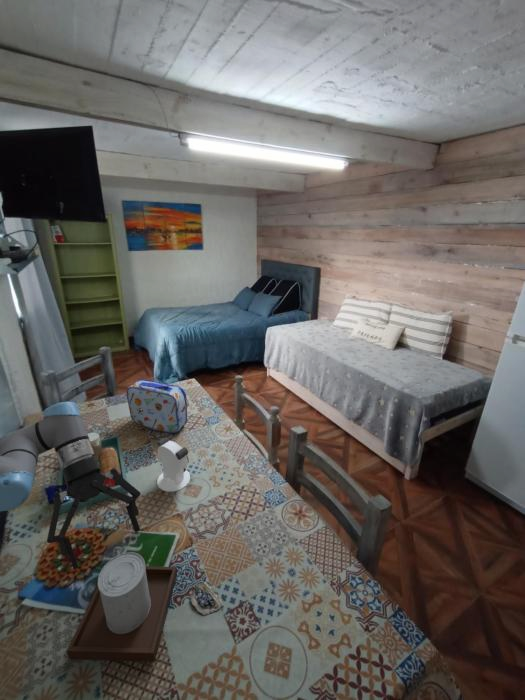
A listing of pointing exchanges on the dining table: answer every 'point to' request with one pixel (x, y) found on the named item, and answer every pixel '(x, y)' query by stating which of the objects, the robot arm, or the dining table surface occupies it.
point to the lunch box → (158, 405)
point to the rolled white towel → (124, 592)
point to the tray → (136, 645)
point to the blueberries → (205, 598)
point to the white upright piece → (172, 466)
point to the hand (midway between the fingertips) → (108, 548)
